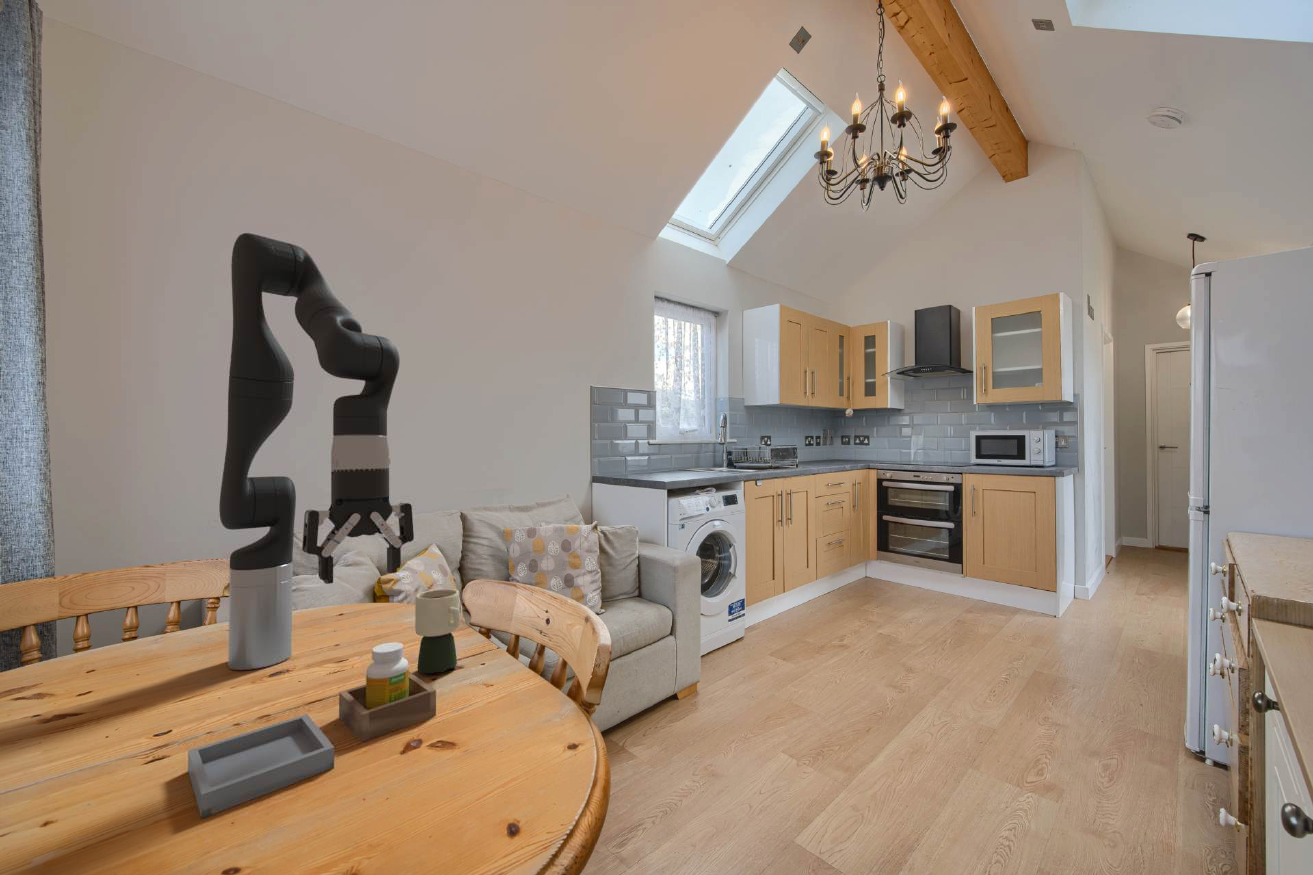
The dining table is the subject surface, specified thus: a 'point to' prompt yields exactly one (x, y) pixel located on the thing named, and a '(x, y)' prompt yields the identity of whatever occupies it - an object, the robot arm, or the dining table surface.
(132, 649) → the dining table surface
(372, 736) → the holder
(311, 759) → the tray
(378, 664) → the supplement bottle
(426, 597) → the character mug
